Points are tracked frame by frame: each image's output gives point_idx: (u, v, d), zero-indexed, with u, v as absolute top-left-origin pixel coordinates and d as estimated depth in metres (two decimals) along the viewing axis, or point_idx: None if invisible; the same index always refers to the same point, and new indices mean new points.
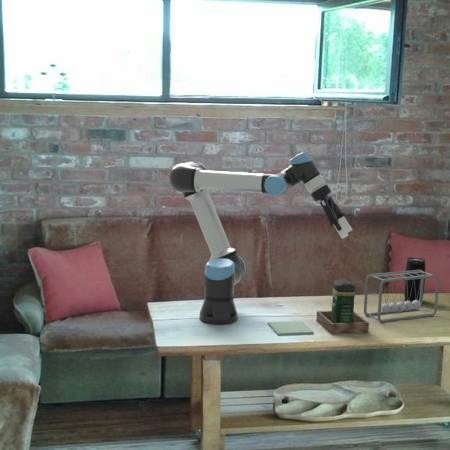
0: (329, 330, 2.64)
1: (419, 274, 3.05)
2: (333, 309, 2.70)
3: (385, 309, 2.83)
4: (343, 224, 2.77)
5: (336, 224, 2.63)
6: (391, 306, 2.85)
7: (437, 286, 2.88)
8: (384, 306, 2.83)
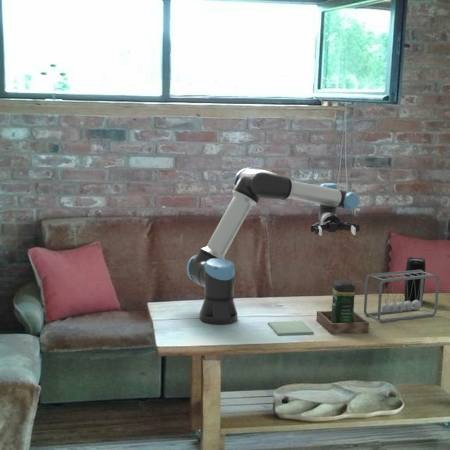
0: (329, 330, 2.64)
1: (419, 274, 3.05)
2: (333, 309, 2.70)
3: (385, 309, 2.83)
4: None
5: (356, 229, 2.87)
6: (391, 306, 2.85)
7: (437, 286, 2.88)
8: (384, 306, 2.83)
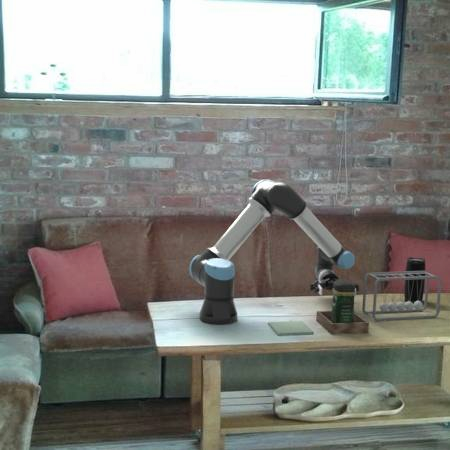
0: (329, 330, 2.64)
1: (419, 274, 3.05)
2: (333, 309, 2.70)
3: (382, 308, 2.85)
4: None
5: (355, 289, 2.87)
6: (389, 305, 2.86)
7: (439, 288, 2.85)
8: (382, 305, 2.85)
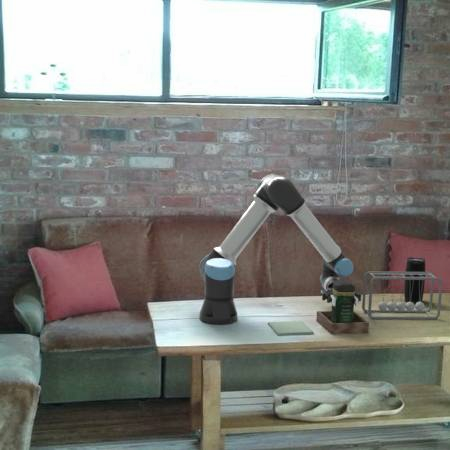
0: (329, 330, 2.64)
1: None
2: (333, 309, 2.70)
3: (380, 307, 2.86)
4: None
5: None
6: (388, 305, 2.87)
7: (440, 289, 2.83)
8: (380, 304, 2.86)
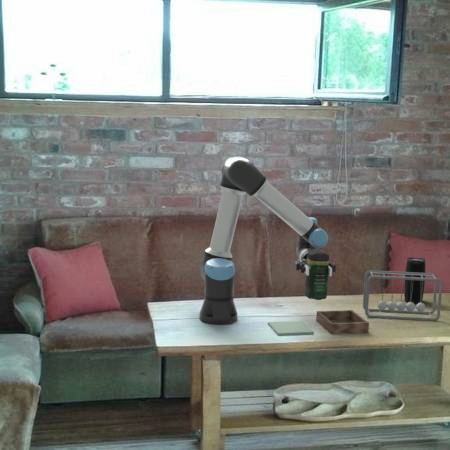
0: (329, 330, 2.64)
1: None
2: (307, 279, 2.65)
3: (379, 306, 2.88)
4: None
5: None
6: (388, 304, 2.88)
7: (439, 291, 2.80)
8: (379, 303, 2.88)
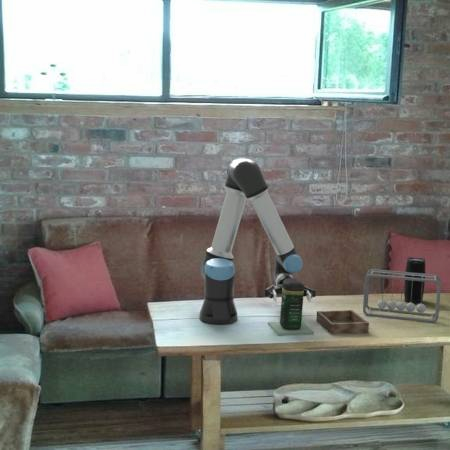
0: (329, 330, 2.64)
1: None
2: (282, 308, 2.65)
3: (378, 305, 2.89)
4: None
5: None
6: (387, 303, 2.89)
7: (438, 292, 2.78)
8: (378, 302, 2.90)
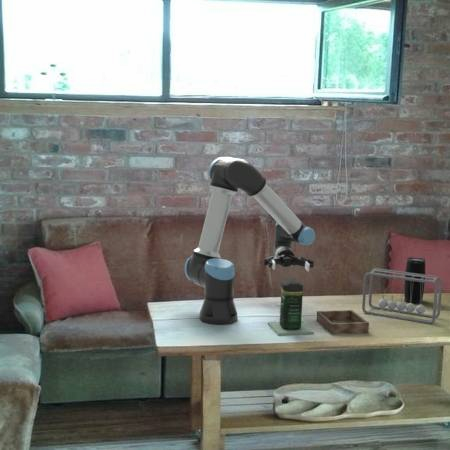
0: (329, 330, 2.64)
1: None
2: (281, 309, 2.65)
3: (379, 304, 2.91)
4: None
5: None
6: (387, 303, 2.90)
7: (434, 294, 2.76)
8: (379, 301, 2.91)
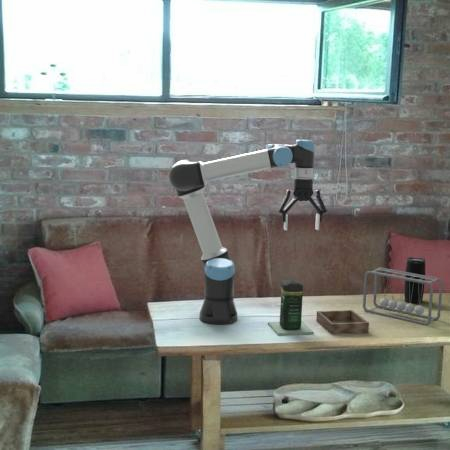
0: (329, 330, 2.64)
1: None
2: (281, 309, 2.65)
3: (380, 302, 2.93)
4: (316, 220, 2.86)
5: (282, 215, 2.82)
6: (388, 302, 2.91)
7: (430, 295, 2.74)
8: (380, 300, 2.93)
